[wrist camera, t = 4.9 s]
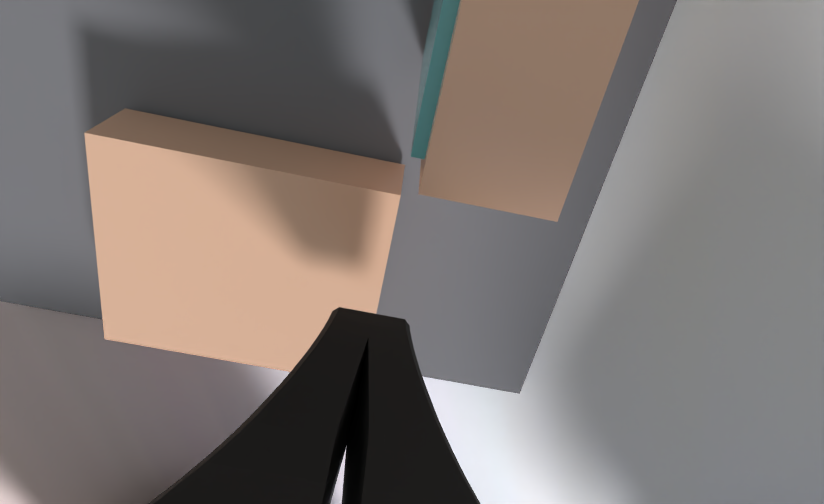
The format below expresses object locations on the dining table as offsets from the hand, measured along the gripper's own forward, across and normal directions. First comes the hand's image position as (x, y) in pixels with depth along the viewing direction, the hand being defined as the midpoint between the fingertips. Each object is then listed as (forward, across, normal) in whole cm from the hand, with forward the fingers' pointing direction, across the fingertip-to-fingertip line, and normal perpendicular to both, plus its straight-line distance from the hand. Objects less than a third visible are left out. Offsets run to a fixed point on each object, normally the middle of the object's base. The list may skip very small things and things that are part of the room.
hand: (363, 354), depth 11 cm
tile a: (+3, 0, 0) cm, 3 cm away
